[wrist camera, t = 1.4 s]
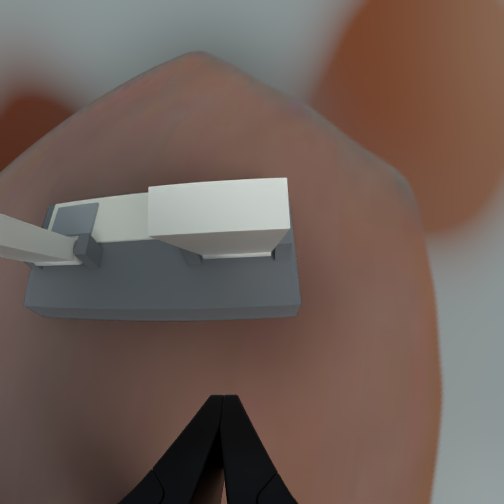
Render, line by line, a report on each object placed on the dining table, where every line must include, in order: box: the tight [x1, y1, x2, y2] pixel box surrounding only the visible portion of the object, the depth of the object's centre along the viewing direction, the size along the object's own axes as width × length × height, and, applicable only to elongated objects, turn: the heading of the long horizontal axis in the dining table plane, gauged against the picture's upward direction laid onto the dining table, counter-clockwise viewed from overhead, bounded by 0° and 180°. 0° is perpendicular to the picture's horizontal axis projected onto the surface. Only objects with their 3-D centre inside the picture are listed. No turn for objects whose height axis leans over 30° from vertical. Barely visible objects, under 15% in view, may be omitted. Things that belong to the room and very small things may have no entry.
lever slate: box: [0, 214, 83, 266], centre depth 15 cm, size 2×4×12 cm, turn 92°
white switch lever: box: [148, 178, 290, 259], centre depth 15 cm, size 2×4×12 cm, turn 92°
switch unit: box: [23, 192, 301, 321], centre depth 22 cm, size 10×22×5 cm, turn 92°
